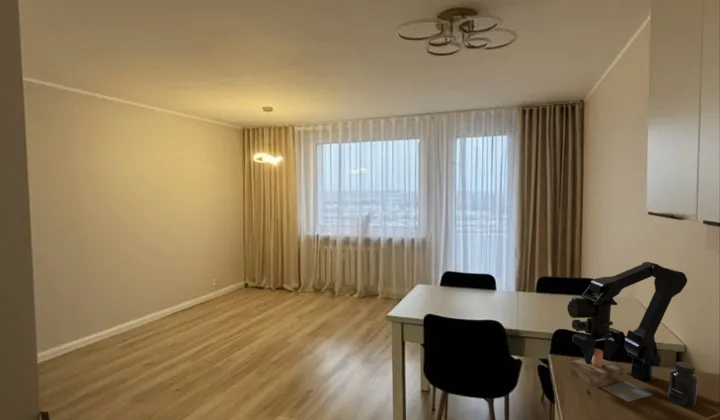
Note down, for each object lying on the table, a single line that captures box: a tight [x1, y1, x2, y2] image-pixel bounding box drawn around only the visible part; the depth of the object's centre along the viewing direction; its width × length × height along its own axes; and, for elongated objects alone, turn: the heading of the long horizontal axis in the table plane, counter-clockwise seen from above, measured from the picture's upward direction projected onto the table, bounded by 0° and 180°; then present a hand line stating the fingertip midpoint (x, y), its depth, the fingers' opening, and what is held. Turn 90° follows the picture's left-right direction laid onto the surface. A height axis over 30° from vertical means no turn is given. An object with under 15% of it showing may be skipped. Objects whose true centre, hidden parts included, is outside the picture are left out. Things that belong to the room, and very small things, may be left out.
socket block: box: [570, 357, 624, 389], centre depth 144 cm, size 12×10×5 cm
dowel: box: [592, 348, 604, 368], centre depth 143 cm, size 3×3×10 cm
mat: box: [601, 381, 653, 402], centre depth 135 cm, size 12×9×1 cm
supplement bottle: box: [667, 361, 699, 408], centre depth 129 cm, size 7×7×12 cm
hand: (597, 361), depth 143 cm, fingers open, 9 cm apart
